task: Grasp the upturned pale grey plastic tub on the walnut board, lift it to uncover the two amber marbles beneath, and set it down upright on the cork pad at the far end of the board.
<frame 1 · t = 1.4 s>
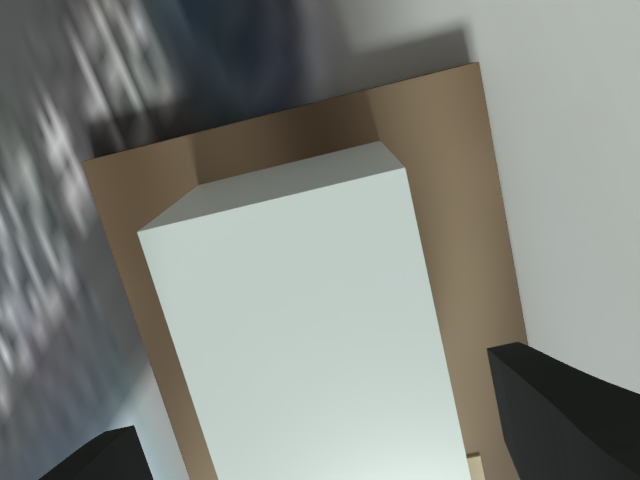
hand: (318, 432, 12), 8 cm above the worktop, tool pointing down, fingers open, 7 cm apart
walnut board: (364, 447, 21), on the worktop
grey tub: (323, 301, 19), point 1 cm above the worktop, touching walnut board
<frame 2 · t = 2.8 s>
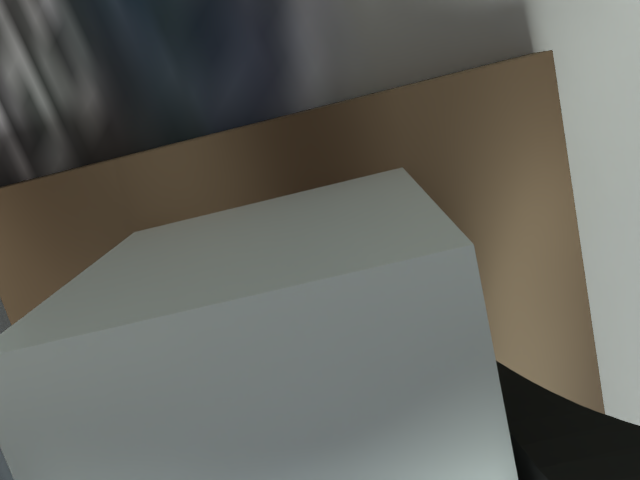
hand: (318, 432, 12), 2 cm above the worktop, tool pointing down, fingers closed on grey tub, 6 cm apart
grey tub: (319, 396, 13), point 1 cm above the worktop, touching gripper, walnut board
when the fingers open (4 cm above the worktop, at t = 7.7 s): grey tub drops 1 cm, resting on walnut board.
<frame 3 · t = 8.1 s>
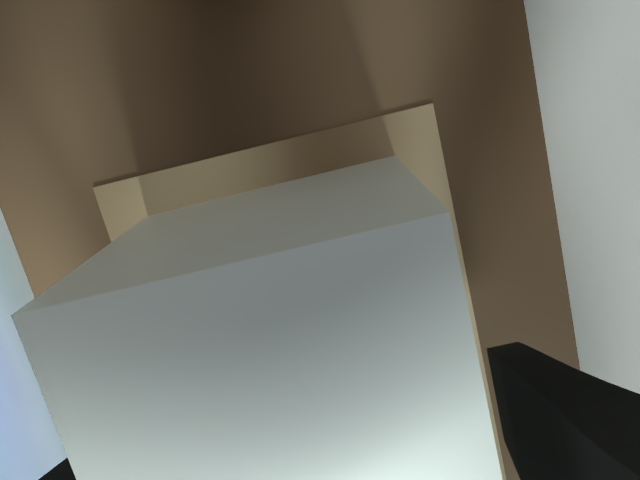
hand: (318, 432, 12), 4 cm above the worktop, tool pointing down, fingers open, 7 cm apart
walnut board: (258, 120, 14), on the worktop
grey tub: (318, 369, 14), point 1 cm above the worktop, touching walnut board
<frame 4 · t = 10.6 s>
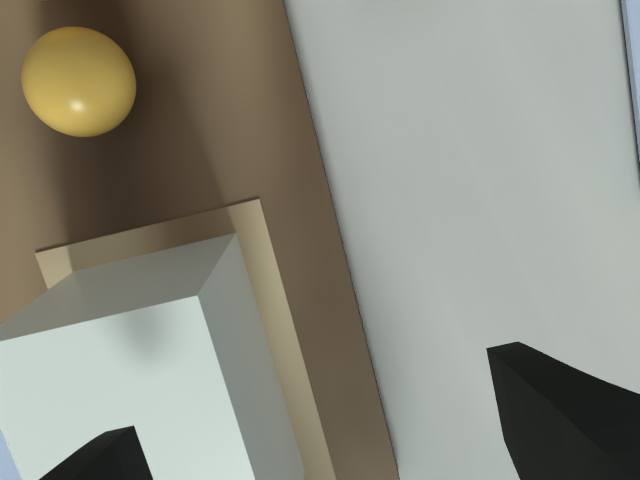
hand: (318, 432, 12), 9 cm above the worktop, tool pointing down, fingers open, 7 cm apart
walnut board: (150, 205, 20), on the worktop
marble b: (80, 83, 17), point 2 cm above the worktop, touching walnut board
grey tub: (193, 375, 21), point 1 cm above the worktop, touching walnut board
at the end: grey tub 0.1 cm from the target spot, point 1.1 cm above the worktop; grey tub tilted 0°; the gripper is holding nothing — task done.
